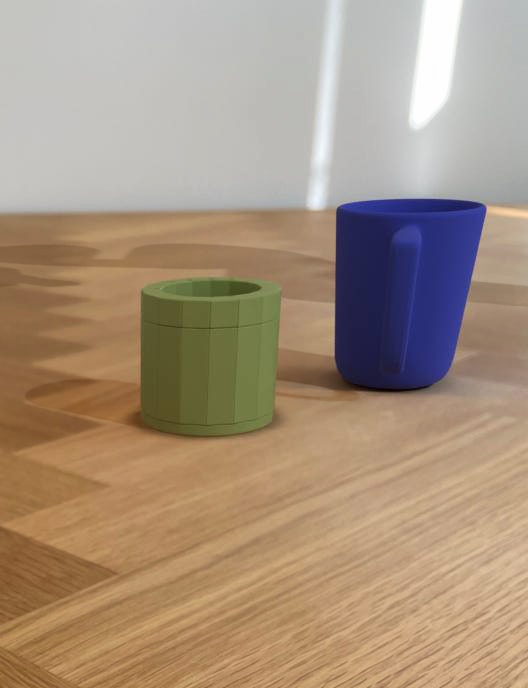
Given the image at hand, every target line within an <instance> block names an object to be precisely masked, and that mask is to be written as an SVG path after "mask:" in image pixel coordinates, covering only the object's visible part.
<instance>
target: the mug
mask: <svg viewBox="0 0 528 688" xmlns="http://www.w3.org/2000/svg"><path fill="white" fill-rule="evenodd" d="M487 209H488V208H487V205H485V204H484V203H482V202H478V201H472V200H465V199H449V198H387V199H386V198H385V199H369V200H359V201H353V202H352V201H351V202H347V203H344V204H340V205H339V206H338V207H336V210H335V266H334V267H335V270H334V272H335V273H334V277H335V278H334V279H335V280H334V363H335V366H336V369H337V372H338V373H339V375H340V376H341V377H342V378H343V379H345V380H346V381H348V382H350V383H353V384H355V385H359V386H362V387H368V388H376V389H383V390H384V389H385V390H408V389H417V388H423V387H428V386H431V385H434V384H436V383H438V382H440V381H442V380H443V379H444V378H445V377H446V376H447V374H448V373H449V371H450V369H451V367H452V364H453V362H454V359H455V354H456V350H457V346H458V341H459V336H460V333H461V327H462V323H463V319H464V314H465V310H466V305H467V302H468V301H467V300H468V296H469V292H470V286H471V283H472V279H473V278H472V277H473V273H474V271H475V270H474V268H475V266H476V265H475V264H476V260H477V256H478V251H479V246H480V242H481V239H482V233H483V228H484V224H485V219H486V215H487V211H488V210H487Z"/></svg>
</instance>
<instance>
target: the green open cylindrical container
mask: <svg viewBox="0 0 528 688" xmlns="http://www.w3.org/2000/svg"><path fill="white" fill-rule="evenodd" d="M282 288H283V287H282V286H281V285H279V284H278V283H276V282H274V281H268V280H264V279H259V278H249V277H238V276H237V277H236V276H202V277H201V276H200V277H185V278H184V277H183V278H175V279H168V280H167V279H166V280H161V281H157V282H153V283H149V284H147V285H145V286H144V287H142V288H141V289H140V385H139V386H140V392H139V393H140V394H139V395H140V398H139V399H140V402H139V403H140V404H139V405H140V409H141V410H140V411H141V413H140V414H141V416H140V417H141V421H142V422H143V423H144V424H145V425H146V426H148V427H149V428H152V429H155V430H157V431H160V432H164V433H168V434H175V435H182V436H193V437H194V436H195V437H217V436H218V437H221V436H233V435H239V434H240V435H241V434H245V433H249V432H253V431H257V430H260V429H262V428H264V427H266V426H268V425H269V424H271V422H272V421H273V416H274V408H275V404H276V389H277V374H278V373H277V372H278V359H279V358H278V355H279V341H280V326H281V325H280V324H281V308H282V307H281V306H282V290H283V289H282Z"/></svg>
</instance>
